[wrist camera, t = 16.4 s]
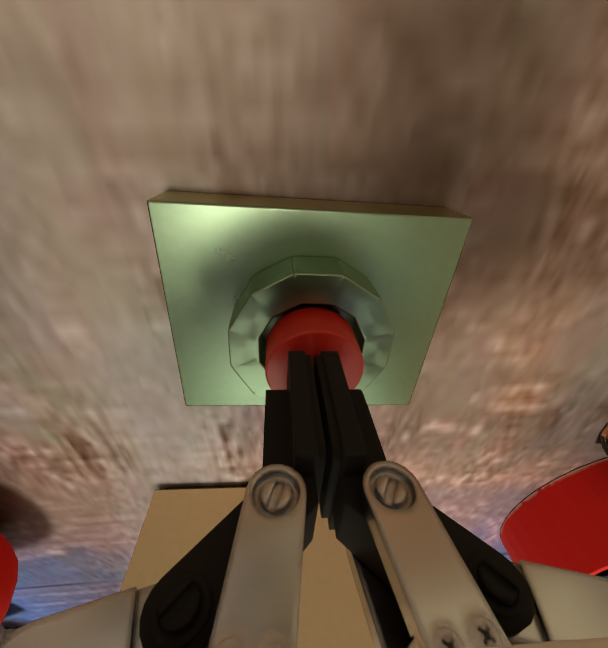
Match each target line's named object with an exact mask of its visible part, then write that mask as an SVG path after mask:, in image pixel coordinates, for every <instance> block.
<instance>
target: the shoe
mask: <svg viewBox="0 0 608 648" xmlns="http://www.w3.org/2000/svg"><path fill="white" fill-rule="evenodd" d="M4 639H5V628H4V627H3V625H2V624H1V625H0V643H1V642H2V641H3V640H4Z"/></svg>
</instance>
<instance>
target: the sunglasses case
mask: <svg viewBox="0 0 608 648" xmlns="http://www.w3.org/2000/svg"><path fill="white" fill-rule="evenodd" d="M600 437H601V444H602V447H603V449H604V451H605V453H606V454H607V455H608V423H607V424H606V426H605V427H604V429H603V430H602V431H601V432H600Z"/></svg>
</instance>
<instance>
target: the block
mask: <svg viewBox="0 0 608 648" xmlns="http://www.w3.org/2000/svg"><path fill="white" fill-rule="evenodd" d="M147 205H148V210H149V215H150V221H151V226H152V231H153V236H154V242H155V247H156V252H157V257H158V262H159V268H160V273H161V278H162V283H163V289H164V294H165V299H166V304H167V310H168V315H169V320H170V325H171V331H172V336H173V341H174V346H175V351H176V357H177V362H178V367H179V372H180V378H181V383H182V388H183V393H184V399H185V404H186V405H187V406H221V405H265V397H266V390H271V388H270V386H269V385H268V383H267V380H266V376H265V363H266V346H267V338H268V335H269V333H270V331H271V329H272V327H273V326H274V325H275V323H276V322H277V321H278V320H279V319H281V318H282V317H283V316H285V315H286V314H288V313H290V312H292V311H294V310H297V309H301V308H306V307H321V308H326V309H329V310H332V311H334V312H336V313H338V314H340V315H341V316H342V317H344V318H345V319H346V320H347V321H348V323H349V324H350V326H351V327H352V329H353V332H354V335H355V337H356V340H357V342H358V345H359V348H360V350H361V353H362V356H363V360H364V371H363V375H362V378H361V380H360V382H359V384H358V385H357V387H356V388H355V389H361V390H362V392H363V394H364V397H365V400H366V403H367V405H408V404H409V403H410V400H411V397H412V394H413V391H414V389H415V386H416V383H417V380H418V377H419V374H420V371H421V368H422V365H423V362H424V360H425V357H426V354H427V351H428V348H429V345H430V342H431V339H432V336H433V333H434V331H435V328H436V325H437V322H438V319H439V316H440V313H441V310H442V307H443V304H444V302H445V299H446V296H447V293H448V290H449V287H450V284H451V281H452V278H453V275H454V273H455V270H456V267H457V264H458V261H459V258H460V255H461V252H462V249H463V246H464V243H465V241H466V238H467V235H468V232H469V229H470V226H471V223H472V218H470V217H468V216H465V215H463V214H461V213H458V212H456V211H454V210H451V209H449V208H447V207H432V206H415V205H398V204H381V203H364V202H347V201H330V200H314V199H297V198H280V197H263V196H246V195H229V194H212V193H195V192H178V191H166V192H164V193H162V194H160V195H158V196H155V197H153V198H151V199H149V200H147Z"/></svg>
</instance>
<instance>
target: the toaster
mask: <svg viewBox="0 0 608 648" xmlns="http://www.w3.org/2000/svg"><path fill="white" fill-rule="evenodd" d="M246 487H247V486H233V487H199V488H166V489H165V490H155V492H154V495H153V498H152V501H151V504H150V507H149V510H148V512H147V515H146V518H145V521H144V524H143V527H142V530H141V532H140V535H139V538H138V541H137V544H136V547H135V550H134V552H133V555H132V558H131V561H130V564H129V567H128V570H127V572H126V575H125V578H124V581H123V584H122V587H121V590H120V592H121V591H124V590H127V589H130V588H133V587H137V589H141V588H144V587H147V586H150V585H153V584H156V583H158V581H159V580H160V579H161V578H162V577H163V576H164V575H165V574H166V573H167V572H168V571H169V570H170V569H171V568H172V567H173V566H174V565H176V564H177V563H178V562H179V561H180V560H181V559H182V558H183V557H184V556H185V555H186V554H187V553H188V552H189V551H190V550H191V549H192V548H193V547H194V546H195V545H196V544H198V543H199V542H200V541H201V540H202V539H203V538H204V537H205V536H206V535H207V534H208V533H209V532H210V531H211V530H212V529H213V528H214V527H215V526H216V525H217V524H218V523H220V522H221V521H222V520H223V519H224V518H225V517H226V516H227V515H228V514H229V513H230V512H231V511H232V510H233V509H234V508H235V507H236V506H237V505H238V504H239V503H240V502H242V501H243V499H244V495H245V491H246ZM297 648H374V645H373V641H372V638H371V635H370V631H369V628H368V625H367V621H366V618H365V615H364V611H363V608H362V605H361V601H360V598H359V595H358V591H357V588H356V585H355V581H354V578H353V575H352V571H351V568H350V565H349V561H348V558H347V554H346V548H345V546H344V545H343V544H342V543H341V542H340V541H338V540H337V539H336V535H335V530H329V526H328V519H327V518H321V514H320V506H319V505H318V511H317V517H316V522H315V529H314V535H313V540H312V541H311V542H310V544H309V545H308V546H307V548H306V549H305V550H304V552H303V563H302V579H301V595H300V611H299V627H298V643H297Z"/></svg>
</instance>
